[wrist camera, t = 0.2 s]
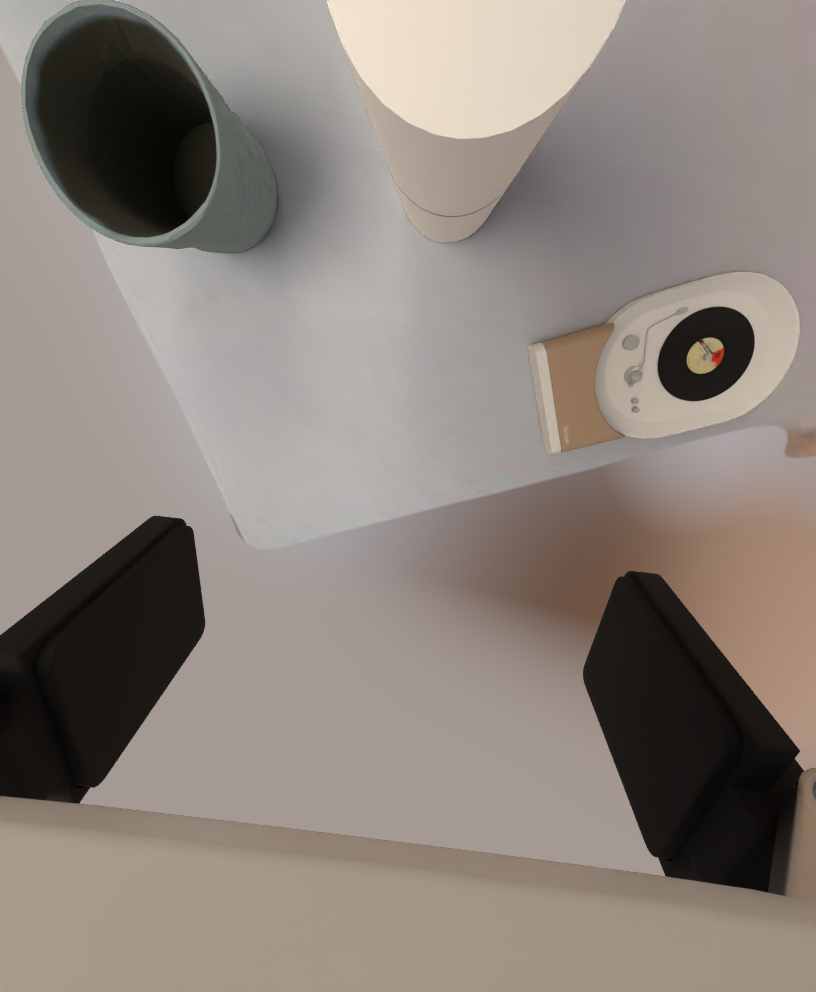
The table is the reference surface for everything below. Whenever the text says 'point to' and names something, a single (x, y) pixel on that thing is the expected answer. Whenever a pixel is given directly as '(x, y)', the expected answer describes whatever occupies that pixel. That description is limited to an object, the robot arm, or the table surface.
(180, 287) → the table surface
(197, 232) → the grey-green cup
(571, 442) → the record player
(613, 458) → the table surface
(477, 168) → the cylindrical container
